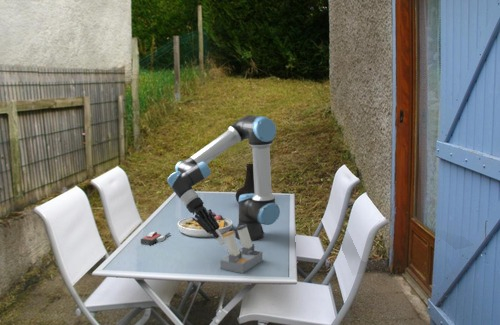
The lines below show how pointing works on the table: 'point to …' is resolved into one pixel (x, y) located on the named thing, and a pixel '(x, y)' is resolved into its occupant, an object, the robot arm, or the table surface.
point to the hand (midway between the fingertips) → (223, 242)
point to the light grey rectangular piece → (244, 237)
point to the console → (242, 260)
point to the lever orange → (231, 244)
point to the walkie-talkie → (153, 238)
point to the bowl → (196, 230)
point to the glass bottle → (247, 183)
